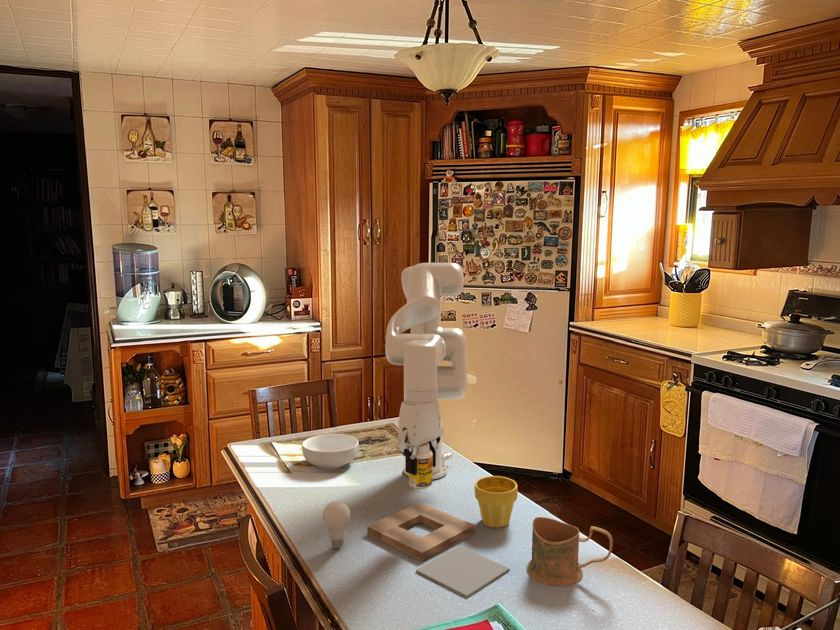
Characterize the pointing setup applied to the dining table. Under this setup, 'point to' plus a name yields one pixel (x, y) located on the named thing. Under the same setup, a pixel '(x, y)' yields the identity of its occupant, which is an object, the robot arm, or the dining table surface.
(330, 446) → the cereal bowl
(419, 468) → the supplement bottle
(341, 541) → the lightbulb
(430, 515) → the wooden square frame
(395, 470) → the dining table surface
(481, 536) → the dining table surface
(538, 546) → the mug
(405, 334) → the robot arm
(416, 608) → the dining table surface
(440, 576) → the grey mat
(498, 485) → the plant pot
